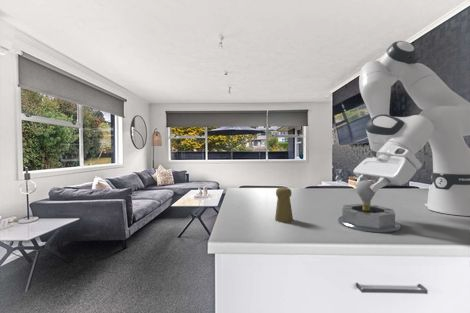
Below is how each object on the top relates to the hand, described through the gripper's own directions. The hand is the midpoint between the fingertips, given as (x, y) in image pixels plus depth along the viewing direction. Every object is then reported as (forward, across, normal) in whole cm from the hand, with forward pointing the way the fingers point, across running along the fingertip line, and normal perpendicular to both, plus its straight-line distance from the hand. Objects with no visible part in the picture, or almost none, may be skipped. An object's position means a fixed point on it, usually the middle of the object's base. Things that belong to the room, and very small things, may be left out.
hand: (364, 188), depth 74 cm
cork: (+25, -8, -9) cm, 28 cm away
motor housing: (+7, 0, +8) cm, 11 cm away
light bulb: (+5, 0, +6) cm, 8 cm away
